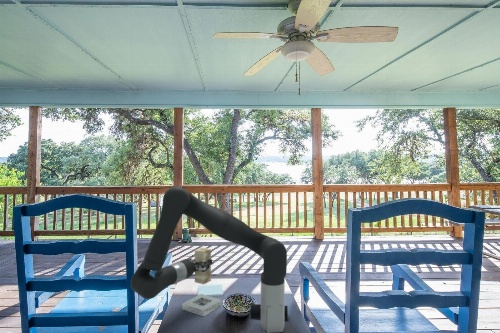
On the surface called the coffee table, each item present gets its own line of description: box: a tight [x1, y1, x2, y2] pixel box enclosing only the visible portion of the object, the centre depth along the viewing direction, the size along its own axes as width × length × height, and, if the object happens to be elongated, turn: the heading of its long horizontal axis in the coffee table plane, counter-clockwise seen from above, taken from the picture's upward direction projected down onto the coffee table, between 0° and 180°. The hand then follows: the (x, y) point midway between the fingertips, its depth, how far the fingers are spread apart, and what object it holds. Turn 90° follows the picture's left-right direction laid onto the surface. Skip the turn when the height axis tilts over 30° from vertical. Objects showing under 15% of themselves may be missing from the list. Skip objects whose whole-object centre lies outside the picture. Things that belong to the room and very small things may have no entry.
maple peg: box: [194, 247, 212, 285], centre depth 127 cm, size 5×5×14 cm
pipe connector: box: [249, 303, 289, 321], centre depth 121 cm, size 12×5×15 cm
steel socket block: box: [181, 294, 222, 317], centre depth 126 cm, size 12×12×2 cm
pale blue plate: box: [197, 284, 224, 297], centre depth 144 cm, size 12×12×1 cm
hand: (206, 260), depth 129 cm, fingers closed on maple peg, 5 cm apart
